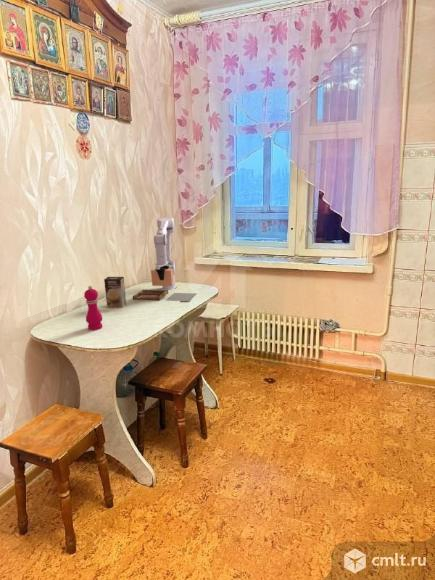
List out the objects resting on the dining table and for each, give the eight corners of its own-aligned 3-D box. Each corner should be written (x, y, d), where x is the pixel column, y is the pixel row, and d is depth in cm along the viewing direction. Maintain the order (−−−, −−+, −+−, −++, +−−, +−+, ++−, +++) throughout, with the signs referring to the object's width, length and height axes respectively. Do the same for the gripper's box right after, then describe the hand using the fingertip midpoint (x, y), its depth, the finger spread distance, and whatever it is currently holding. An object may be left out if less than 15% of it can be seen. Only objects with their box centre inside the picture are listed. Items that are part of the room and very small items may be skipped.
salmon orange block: (154, 284, 231) (153, 269, 229) (174, 284, 228) (172, 269, 226) (152, 285, 228) (150, 270, 226) (171, 285, 225) (170, 270, 223)
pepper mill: (88, 331, 178) (82, 288, 173) (86, 326, 184) (80, 285, 179) (104, 328, 181) (99, 286, 175) (102, 324, 187) (97, 283, 182)
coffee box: (106, 308, 211) (103, 279, 207) (110, 305, 217) (107, 276, 213) (123, 308, 210) (120, 279, 206) (127, 304, 216) (124, 276, 212)
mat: (174, 293, 235) (174, 292, 235) (196, 294, 232) (196, 293, 232) (164, 301, 220) (164, 300, 220) (189, 302, 217) (189, 301, 217)
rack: (143, 293, 238) (142, 289, 237) (168, 294, 234) (168, 290, 234) (133, 300, 224) (132, 296, 223) (159, 301, 221) (159, 297, 220)
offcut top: (141, 297, 228) (141, 295, 228) (158, 297, 227) (157, 295, 227) (139, 299, 224) (138, 297, 224) (156, 299, 223) (156, 297, 223)
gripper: (159, 253, 232) (161, 276, 235) (149, 258, 218) (151, 282, 221) (170, 253, 230) (172, 276, 233) (161, 258, 216) (163, 282, 220)
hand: (163, 279), depth 227 cm, fingers closed on salmon orange block, 3 cm apart
